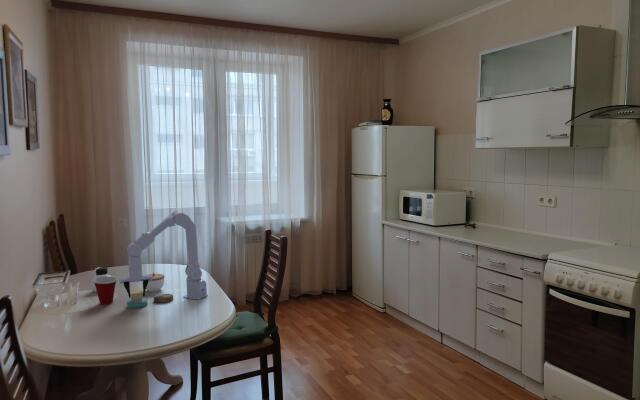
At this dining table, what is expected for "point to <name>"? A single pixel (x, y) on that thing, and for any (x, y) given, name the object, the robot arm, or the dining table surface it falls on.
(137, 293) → the block
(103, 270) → the medicine bottle
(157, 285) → the lidded jar
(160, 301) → the stand
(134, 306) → the stand
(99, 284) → the plastic cup
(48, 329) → the dining table surface
